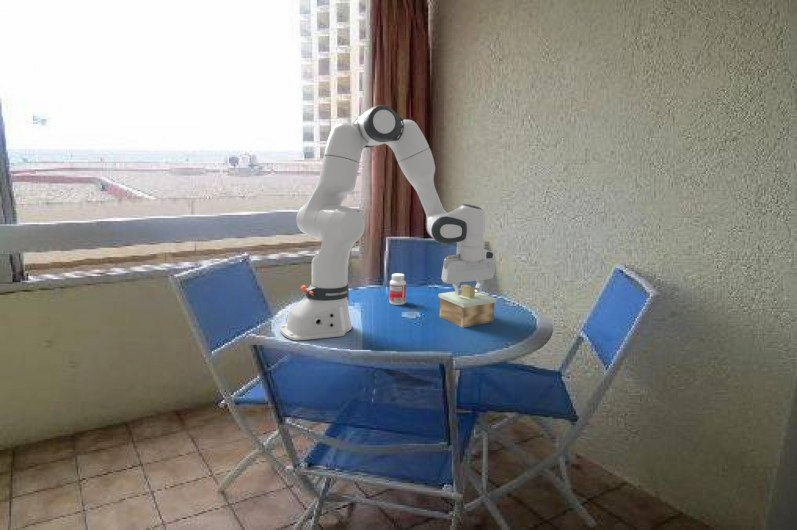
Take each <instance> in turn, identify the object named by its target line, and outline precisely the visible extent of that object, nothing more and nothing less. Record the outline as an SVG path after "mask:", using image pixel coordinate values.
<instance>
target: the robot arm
mask: <svg viewBox="0 0 797 530" xmlns="http://www.w3.org/2000/svg"><path fill="white" fill-rule="evenodd" d="M384 144H385V145H386V146H388V147H389V148H390V149H391V150H392V152H393V154H394V157H395V159H396V161H397V163H398V166H399V168H400V170H401V172H402V173H403V175H404V177H405V178H406V180H407V181H408V182H409V184H410V185H411V186H412V187H413V189H414V190H415V191H416V193H417V196H418V198H419V201H420V204H421V206H422V208H423V210H424V214H425V229H426V232H427V234H428V235H429V236H430V238H432V239H434V240H435V241H436V242H437V243H439V244H442V245H450V244H456V250H455V251H456V254H453V255H452V254H450V255H447V256H446V257H445V258H444V260H443V266H442V272H441V280H442V282H443V283H445V284H448V285H452V287H453V289H454V292H455V295H457V296H458V295H461V294H462V293H461V292H462V290H461V288H459V286H461V285H460V284H461V283H465V282H466V283H467V282H474V281H475V282H476V285H475V286H474V287H475V293H481V287H482V286H483V284H484V281H485V280H490V279H491V280H492V279H493V278H494V276H495V272H496V262H495V261H496V260H494V259H495V257H496V253H495V252H494V251H491V250H488V249H486V248H484V235H485V232H486V231H485V229H486V227H485V226H486V225H485V224H486V223H485V222H486V221H485V219H486V218H485V217H486V216H485V212H484V210H483V209H482V207H479V206H476V205H473V204H467V203H463V204H461V205H460V206H459V207H457V208H455V209H453V210H451V211H447V210H446V209H445V208H444V207H443V205H442V204H443V203H442V202H441V200H440V197H439V194H438V192H437V189H436V186H435V181H434V180H435V179H434V178H435V173H436V164H435V160H434V156H433V152H432V150H431V148H430V145H429V143H428V140H427V138H426V137H425V135H424V133H423V132H422V130H421V129H420V127H419V125H418V124H417V123H416V122H415V121H414V120H412V119H403V118H402V117H401V116H399V115H398V114H397V113H396V112H395V111H394V110H393V109H392V108H391V107H389V106H387V105H382V104H381V105H379V104H378V105H374V106H372V107H370V108H369V109H366V110H365V111H363V112H362V113H361V114H360V115H359V116H358V117H357V118H356V119H355V120H354V121H353V123H348V122H341V123H337V124H335V125H334V126H333V127H332V128H331V131H330V133H329V135H328V138H327V142H326V144H325V149H324V153H323V157H322V162H321V167H320V173H319V178H318V181H317V183H316V186H315V188H314V190H313V192H312V194H311V196H310V197H309V199H308V200H307V202H306V203H305V204H304V205H303V206H301V207H300V208H299V210H298V211H297V213H296V218H295V224H296V226H297V228H298V229H299V231H300V232H301V233H303V234H305V235H306V236H309V237H310V238H313V239H317V240H318V239H319V240H321V246H320V249H319V252H318V253H317V254H316V255H314V256H313V258H312V260H311V284H309V286H307V285H305V284H303V285H301V286H300V287H299V288H300V291H301V292H303V293H305V297H304V298H303V299H301V300H300V301H299V302H298V303H296V304H295V305H294V306H293V307H291V309H290V310H289V311H288V313H287V319H286V323H283V324H280V326H279V332H280V333H281V334H282V336H283V337H285V338H287V339H289V340H292V341H305V340H317V339H325V338H326V339H327V338H335V337H337V338H338V337H344V336H345V335H346V334H347V332H349V331H351V330H352V329H353V325H352V320H351V317H350V312H349V302H348V301H349V298H350V297H349V296H350V288H349V287H350V286H349V283H348V273H349V272H348V271H349V270H348V269H349V258H350V255H351V251H352V249H353V246H354V245H355V243H356V242H358V241H359V240H360V239H361V237H362V236H363V234H364V232H365V229H366V227H365V225H366V224H365V219H364V216H363V215H362V213H360V212H359V211H357V210H355V209H353V208H350V207H348V206H344V205H342V203H343V202H344V199H345V198H346V197H347V196H348V195H349V194H351V193H352V192H353V191H354V189H355V188H356V183H357V179H358V178H357V177H358V173H359V168H360V163H361V155H362V152H363V150H364V148H374V147H377V146H381V145H384Z"/></svg>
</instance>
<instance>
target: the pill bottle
mask: <svg viewBox="0 0 797 530" xmlns="http://www.w3.org/2000/svg"><path fill="white" fill-rule="evenodd" d="M406 294H407V281H406V280H405V274H404V273H400V272H399V273H398V272H396V273H392V274H391V279H390V281H389V295H388V296H389V297H388V299H389V300H388V301H389V303H390V305H393V306H402V305H405V304H406V303H407V302H406V300H407V295H406Z"/></svg>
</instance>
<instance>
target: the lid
mask: <svg viewBox="0 0 797 530" xmlns="http://www.w3.org/2000/svg"><path fill="white" fill-rule="evenodd" d="M460 290H462V292H461V293H462V294H461V295H458V296H457V295H455V291H449V292H442V293H438V298H439V299H440V298H442V299H444V300H447V301H449V302H451V303H454V304H456V305H459V306H461V307H463V308H464V307H470V306H477V305H483V304H490V303H497V302H498V298H495V297H493V296H490V295H488V294H485V293H482V292H479V293H475V286H471V285H468V284H465V283H464V284H461V285H460Z"/></svg>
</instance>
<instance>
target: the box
mask: <svg viewBox="0 0 797 530" xmlns="http://www.w3.org/2000/svg"><path fill="white" fill-rule="evenodd" d="M439 303H440V304H439V317H440V318H441V319H443V320H446V321H448V322H449V323H452V324H454V325H456V326H459V327H460V328H463V329H464V328H468V327H474V326H480V325H484V324H491V323H494V315H495V303H490V304H483V305H477V306H470V307H464V308H463V307H461V306H459V305H456V304H454V303H451V302H449V301H447V300H444V299H442V298H439Z"/></svg>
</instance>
